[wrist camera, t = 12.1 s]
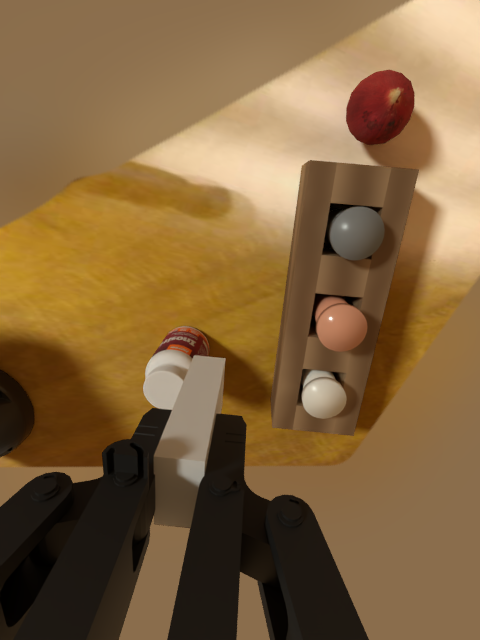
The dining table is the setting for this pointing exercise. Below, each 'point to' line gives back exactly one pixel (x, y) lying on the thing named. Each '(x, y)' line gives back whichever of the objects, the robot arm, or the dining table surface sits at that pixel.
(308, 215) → the socket block
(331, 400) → the plug white
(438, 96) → the dining table surface
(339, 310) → the plug terracotta
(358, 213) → the plug blue-grey
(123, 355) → the dining table surface
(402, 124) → the onion
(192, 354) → the pill bottle
